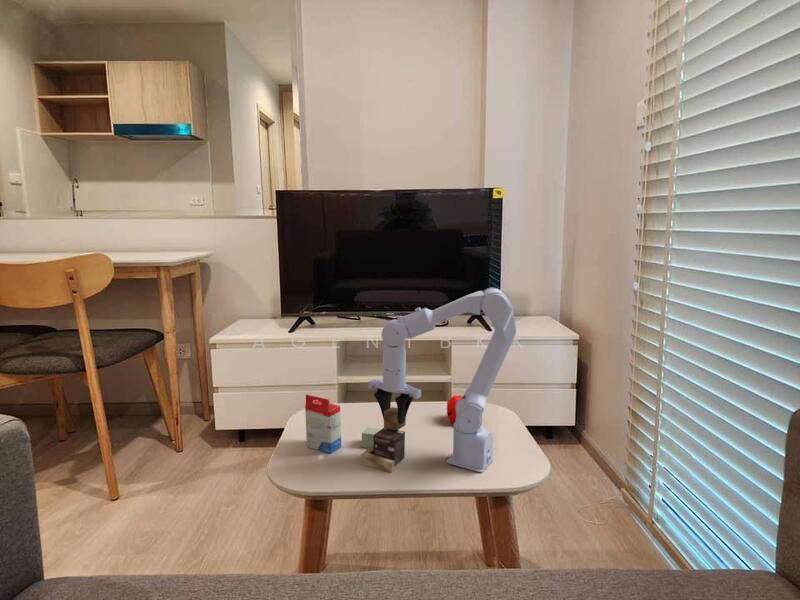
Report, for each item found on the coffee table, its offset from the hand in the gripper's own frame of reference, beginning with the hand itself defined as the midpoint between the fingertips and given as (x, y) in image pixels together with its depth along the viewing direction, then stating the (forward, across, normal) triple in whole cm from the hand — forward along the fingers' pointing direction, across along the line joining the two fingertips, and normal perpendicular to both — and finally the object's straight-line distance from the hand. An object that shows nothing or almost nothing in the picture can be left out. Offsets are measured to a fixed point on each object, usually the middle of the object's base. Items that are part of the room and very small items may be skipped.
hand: (394, 420), depth 120 cm
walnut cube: (+2, 0, 0) cm, 2 cm away
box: (+10, 0, +2) cm, 10 cm away
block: (+10, +9, -3) cm, 14 cm away
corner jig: (+10, 0, +2) cm, 10 cm away
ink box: (+10, +19, +5) cm, 22 cm away
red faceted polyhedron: (+10, -4, -30) cm, 32 cm away
